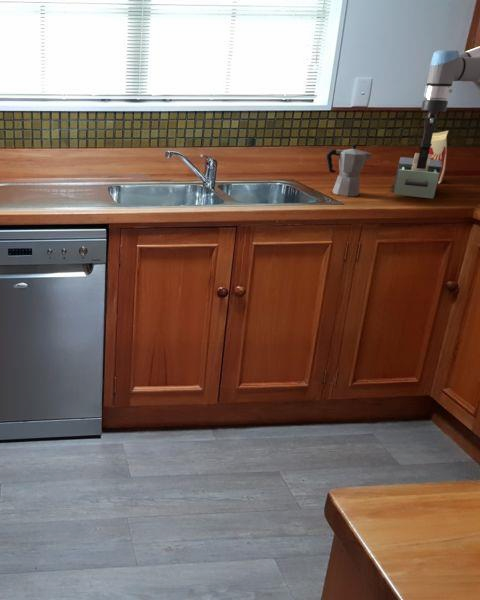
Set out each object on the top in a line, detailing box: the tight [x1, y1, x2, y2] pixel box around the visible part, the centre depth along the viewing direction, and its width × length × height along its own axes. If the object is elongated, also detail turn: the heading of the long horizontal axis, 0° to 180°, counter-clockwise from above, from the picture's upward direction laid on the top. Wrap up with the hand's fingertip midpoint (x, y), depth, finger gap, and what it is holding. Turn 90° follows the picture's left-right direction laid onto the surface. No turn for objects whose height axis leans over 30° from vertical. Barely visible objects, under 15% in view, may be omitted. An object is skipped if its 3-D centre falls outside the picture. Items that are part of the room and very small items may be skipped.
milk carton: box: [429, 130, 449, 184], centre depth 243 cm, size 9×9×20 cm
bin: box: [393, 166, 439, 200], centre depth 217 cm, size 21×13×9 cm, turn 152°
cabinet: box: [392, 156, 442, 198], centre depth 227 cm, size 16×14×11 cm
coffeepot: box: [325, 143, 374, 197], centre depth 219 cm, size 15×9×18 cm, turn 76°
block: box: [411, 152, 431, 172], centre depth 215 cm, size 5×5×6 cm
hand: (420, 166), depth 214 cm, fingers open, 9 cm apart
